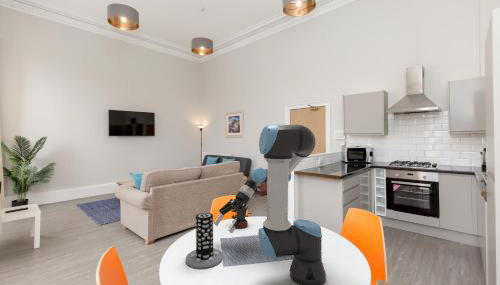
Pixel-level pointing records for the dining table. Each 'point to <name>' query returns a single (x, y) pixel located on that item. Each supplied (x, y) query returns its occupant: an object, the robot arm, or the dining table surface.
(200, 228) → the white-spotted black cylinder
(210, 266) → the stub plate
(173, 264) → the dining table surface
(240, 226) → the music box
